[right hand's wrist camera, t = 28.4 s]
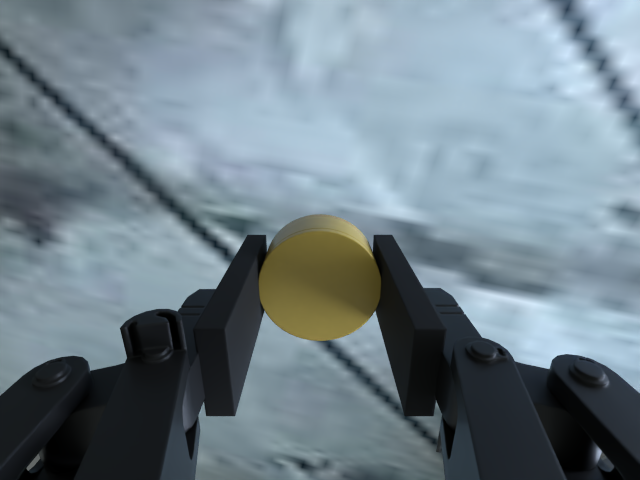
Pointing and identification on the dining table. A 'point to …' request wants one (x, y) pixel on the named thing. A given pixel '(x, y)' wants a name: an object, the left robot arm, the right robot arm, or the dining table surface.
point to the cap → (319, 278)
